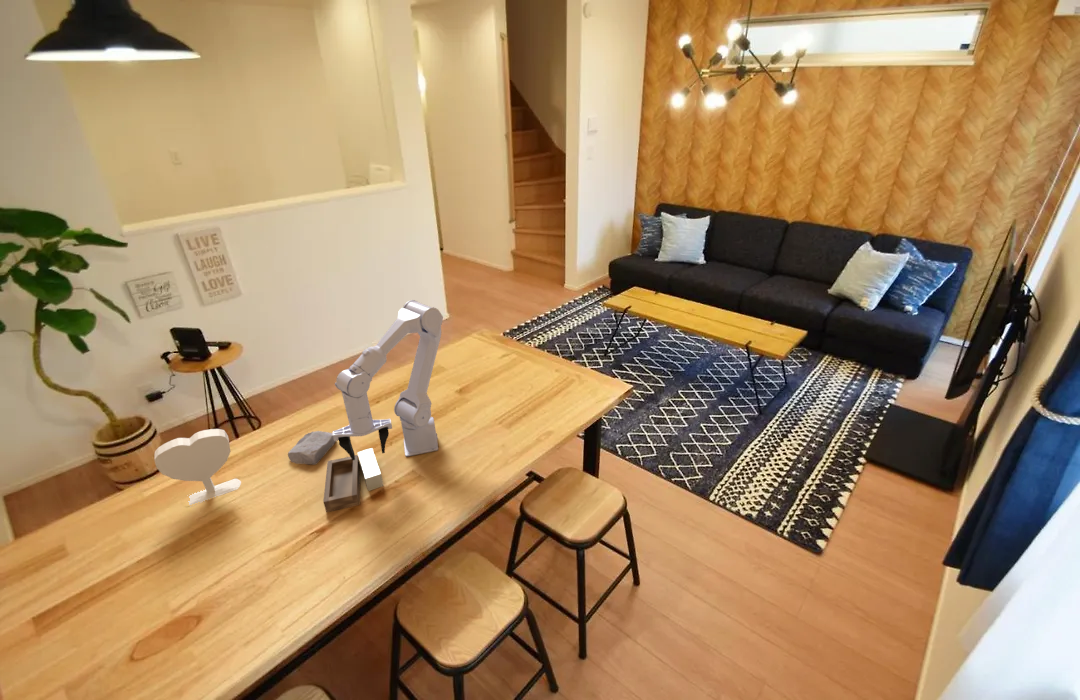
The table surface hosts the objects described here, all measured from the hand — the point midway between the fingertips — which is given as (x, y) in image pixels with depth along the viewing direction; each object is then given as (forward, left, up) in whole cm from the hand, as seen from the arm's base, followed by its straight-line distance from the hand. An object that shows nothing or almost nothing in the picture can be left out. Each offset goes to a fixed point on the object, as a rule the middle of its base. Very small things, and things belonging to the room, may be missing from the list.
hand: (368, 454), depth 131 cm
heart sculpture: (+41, -7, -7) cm, 42 cm away
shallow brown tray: (+7, +2, -7) cm, 11 cm away
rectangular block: (0, 0, -7) cm, 7 cm away
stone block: (+17, -16, -8) cm, 25 cm away
